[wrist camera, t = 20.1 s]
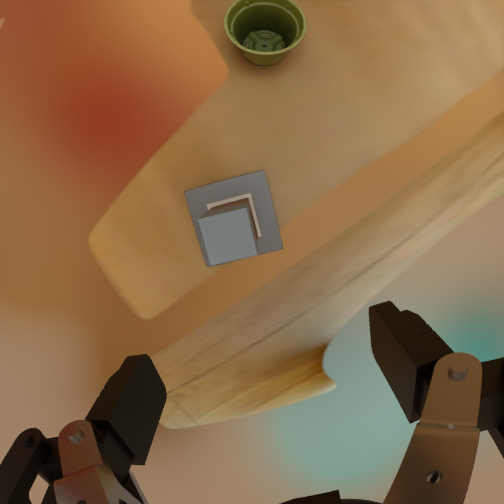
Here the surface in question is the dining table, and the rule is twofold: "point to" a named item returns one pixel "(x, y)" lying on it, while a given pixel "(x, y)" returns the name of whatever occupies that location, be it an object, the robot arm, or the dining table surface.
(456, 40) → the dining table surface
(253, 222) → the walnut block
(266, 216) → the plate
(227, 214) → the blue block
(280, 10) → the plant pot
